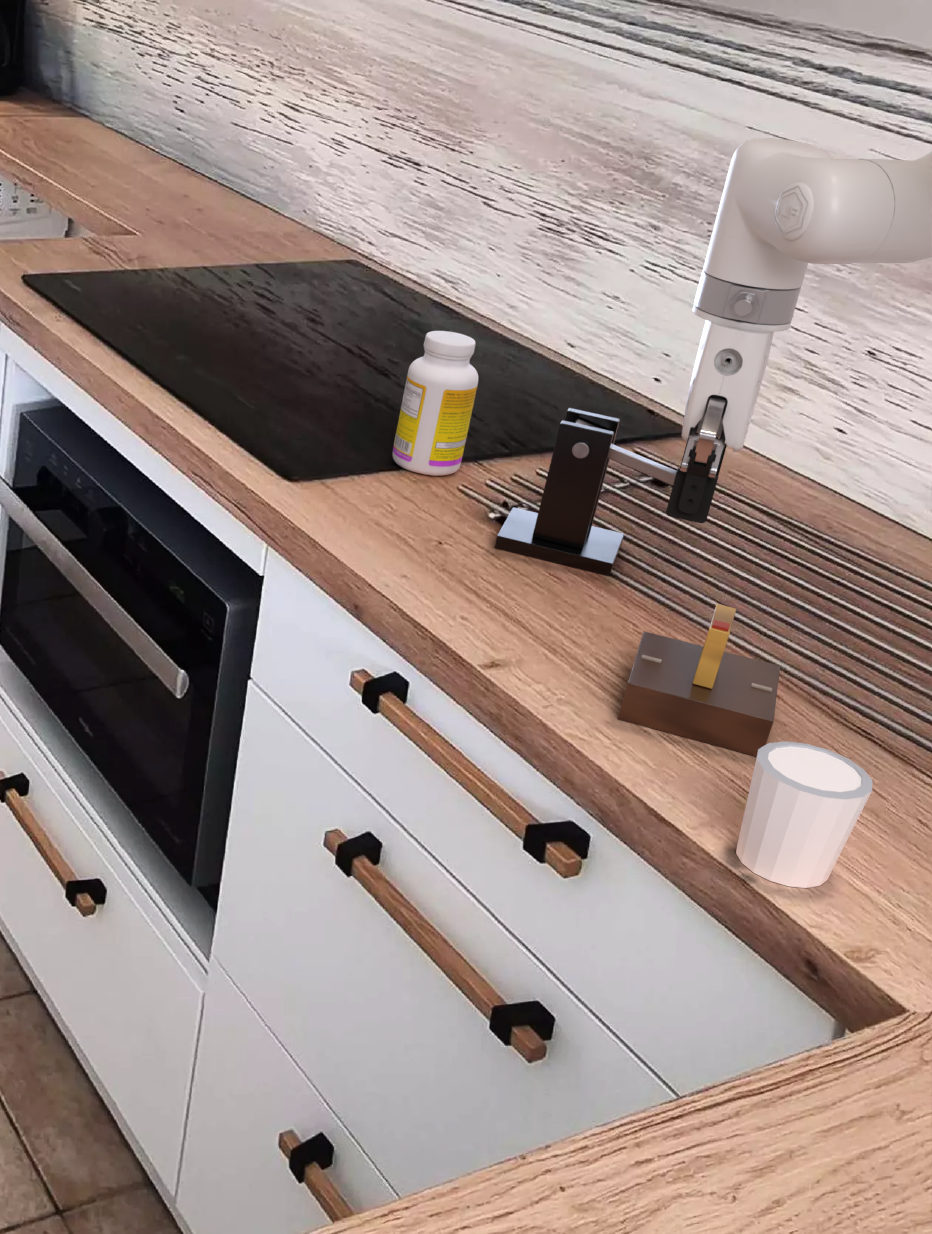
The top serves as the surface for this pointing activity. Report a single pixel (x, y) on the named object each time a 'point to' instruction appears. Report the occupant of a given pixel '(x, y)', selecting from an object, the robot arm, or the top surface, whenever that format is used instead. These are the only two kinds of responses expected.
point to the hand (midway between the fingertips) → (690, 501)
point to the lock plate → (701, 695)
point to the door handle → (638, 462)
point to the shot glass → (800, 812)
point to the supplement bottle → (437, 406)
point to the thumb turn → (714, 646)
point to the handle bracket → (569, 501)
